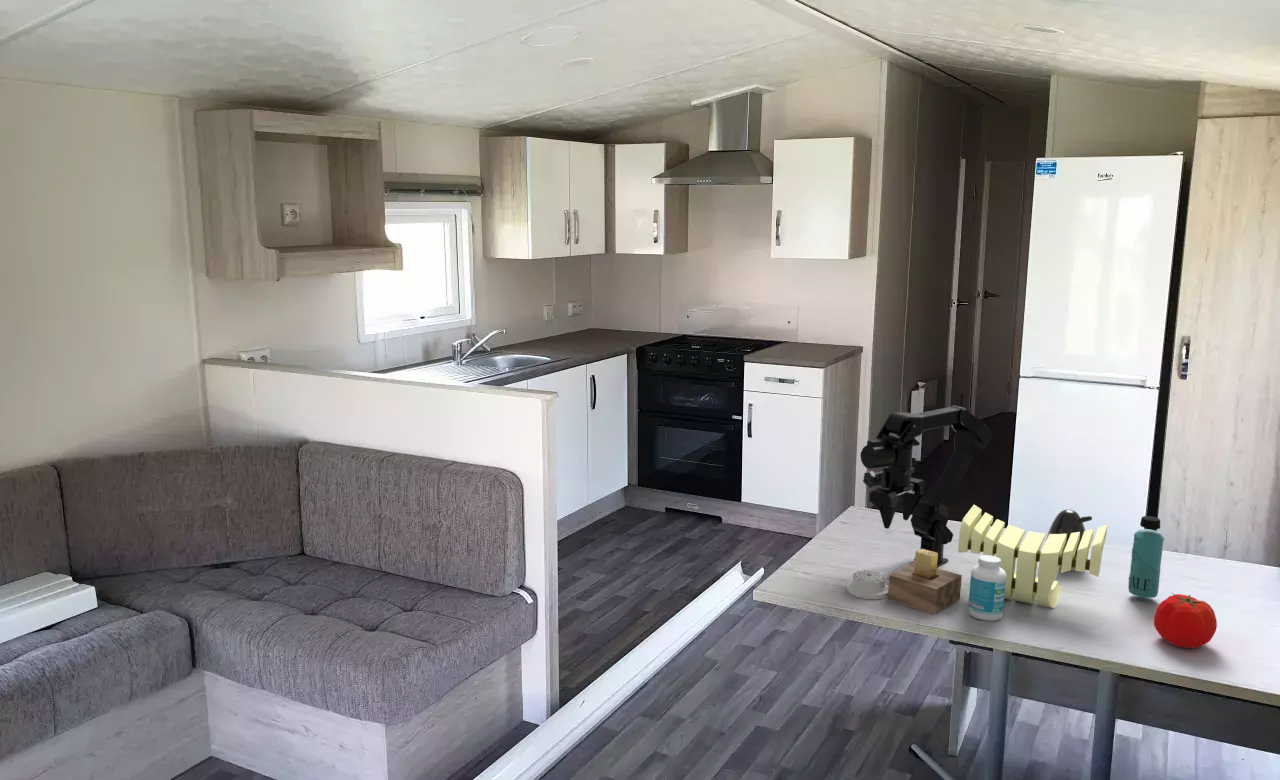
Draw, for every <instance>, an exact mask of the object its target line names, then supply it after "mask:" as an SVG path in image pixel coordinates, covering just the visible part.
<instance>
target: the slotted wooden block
mask: <svg viewBox="0 0 1280 780" xmlns="http://www.w3.org/2000/svg"><path fill="white" fill-rule="evenodd" d="M914 569H915V561H913V562H912V563H910V564H908V565H906V566H904V567H902V568H900V569H898V570H896V571H894V572H892V573H890V574H889V575H888V596H887V600H889V601H892V602H896V603H898V604H901V605H905V606H908V607H911V608H913V609H917V610H921V611H924V612H927V613H929V612H930V614H933V615H936V614H938V613H940V612H942V611H943V610H945V609H946V608H948V607H950V606H952V605H953V604H956V602H958V601H960V600H961V591H962V580H963V579H962V578H963V575H962V574H959V573H955V572H952V571H948V570H945V569H941V568H938V567H937V573H936V578H935V579H933V580H928V579H925V578H921V577H918V576H915V575H914Z"/></svg>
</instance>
